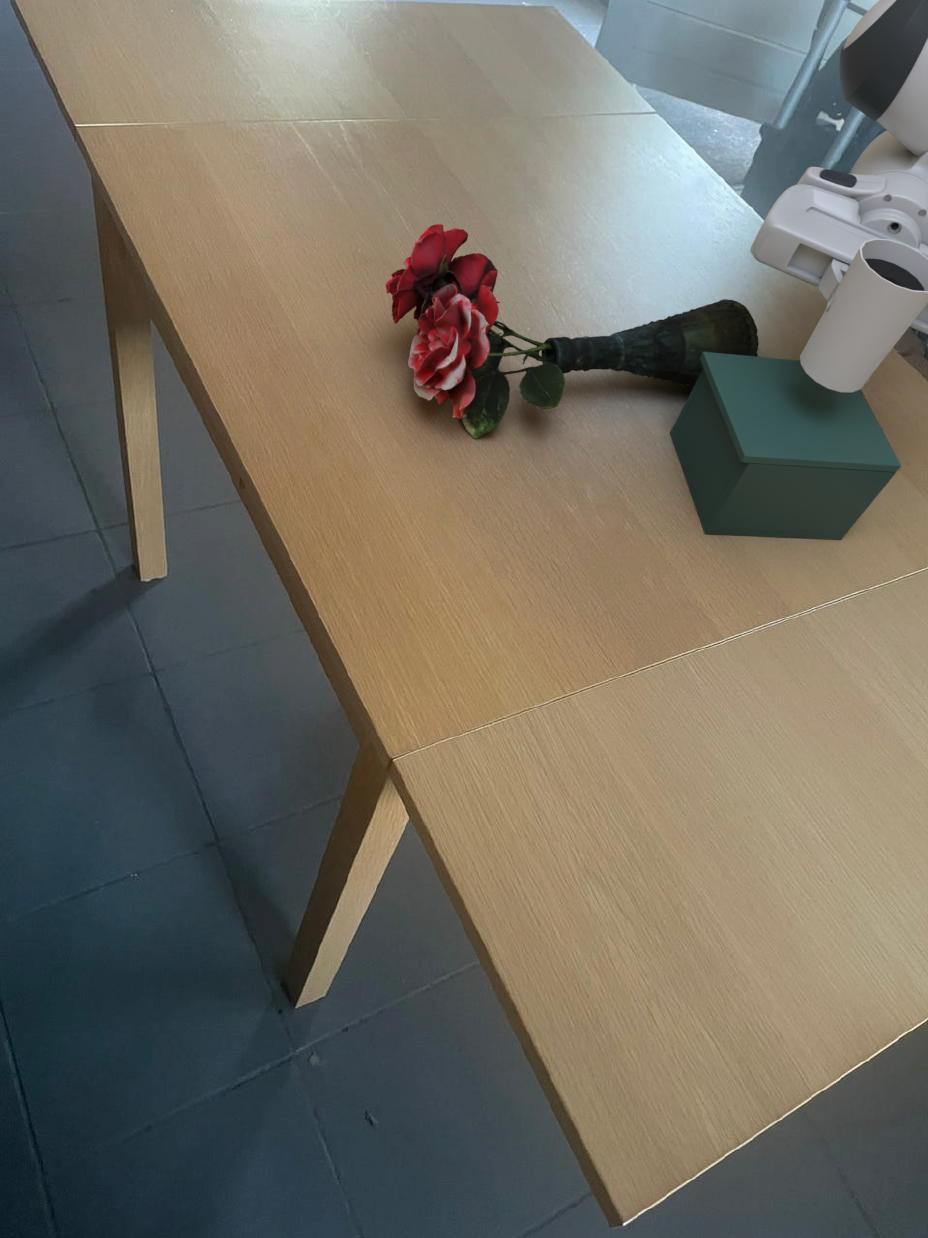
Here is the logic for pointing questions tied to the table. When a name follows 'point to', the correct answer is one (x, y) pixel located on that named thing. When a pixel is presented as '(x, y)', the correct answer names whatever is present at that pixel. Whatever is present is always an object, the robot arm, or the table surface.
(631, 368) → the vase with roses
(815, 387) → the lid
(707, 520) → the chest
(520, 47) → the table surface
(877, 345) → the white cup
